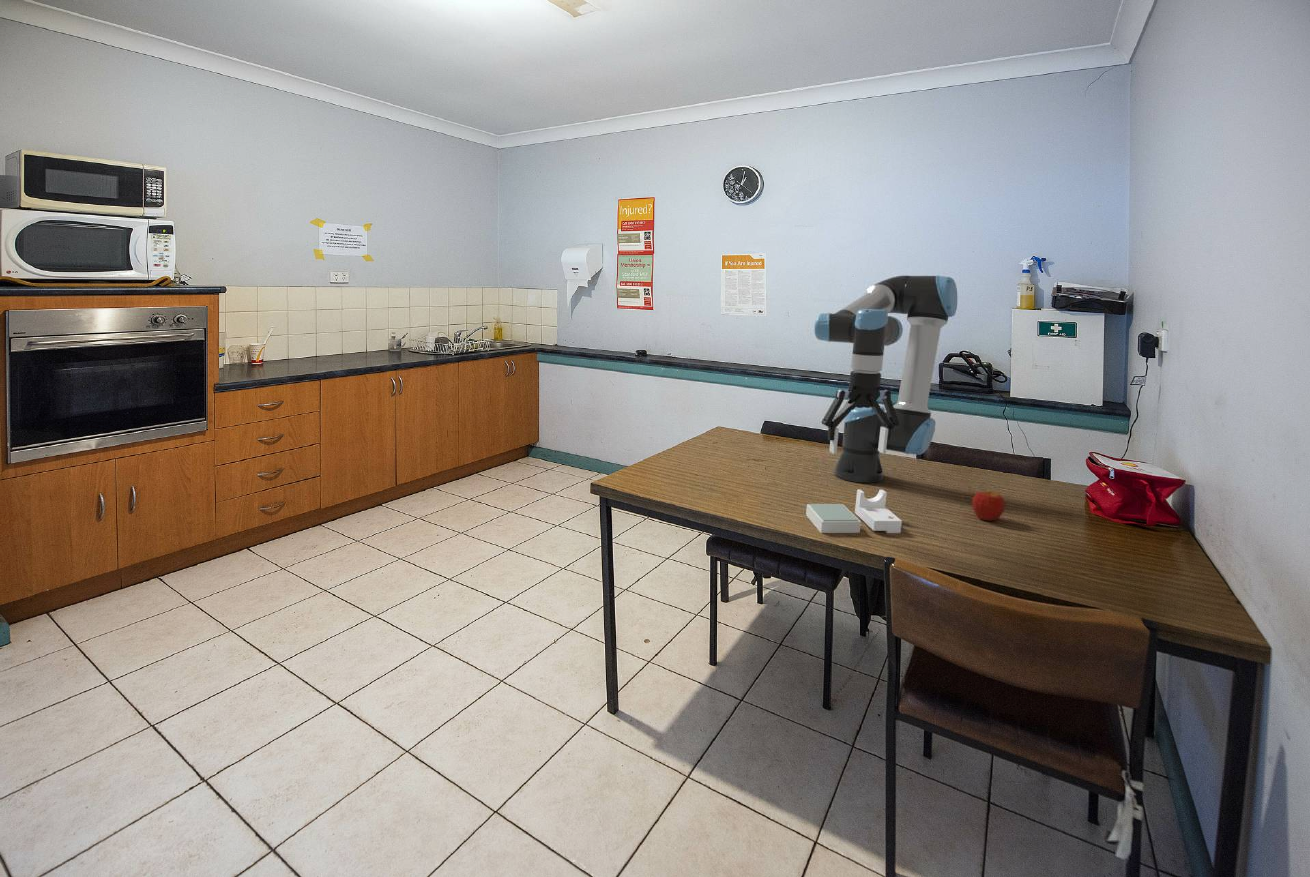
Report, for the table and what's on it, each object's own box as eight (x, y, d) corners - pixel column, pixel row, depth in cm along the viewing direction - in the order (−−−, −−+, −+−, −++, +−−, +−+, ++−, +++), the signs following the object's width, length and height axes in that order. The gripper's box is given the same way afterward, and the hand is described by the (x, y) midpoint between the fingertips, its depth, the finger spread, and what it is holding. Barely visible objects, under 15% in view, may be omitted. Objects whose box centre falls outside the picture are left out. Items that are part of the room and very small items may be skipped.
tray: (842, 514, 179) (843, 503, 178) (859, 532, 166) (861, 520, 165) (806, 514, 178) (807, 503, 177) (821, 532, 165) (822, 520, 164)
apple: (997, 526, 173) (1002, 498, 171) (966, 518, 178) (970, 491, 176) (1005, 519, 179) (1010, 491, 177) (975, 511, 184) (979, 485, 182)
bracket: (854, 515, 179) (857, 489, 177) (879, 515, 179) (882, 489, 178) (873, 534, 166) (876, 505, 164) (900, 534, 167) (903, 505, 165)
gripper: (903, 369, 172) (894, 448, 177) (813, 368, 168) (806, 449, 173) (919, 373, 165) (909, 455, 170) (825, 372, 161) (817, 456, 166)
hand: (857, 452), depth 171 cm, fingers open, 13 cm apart
